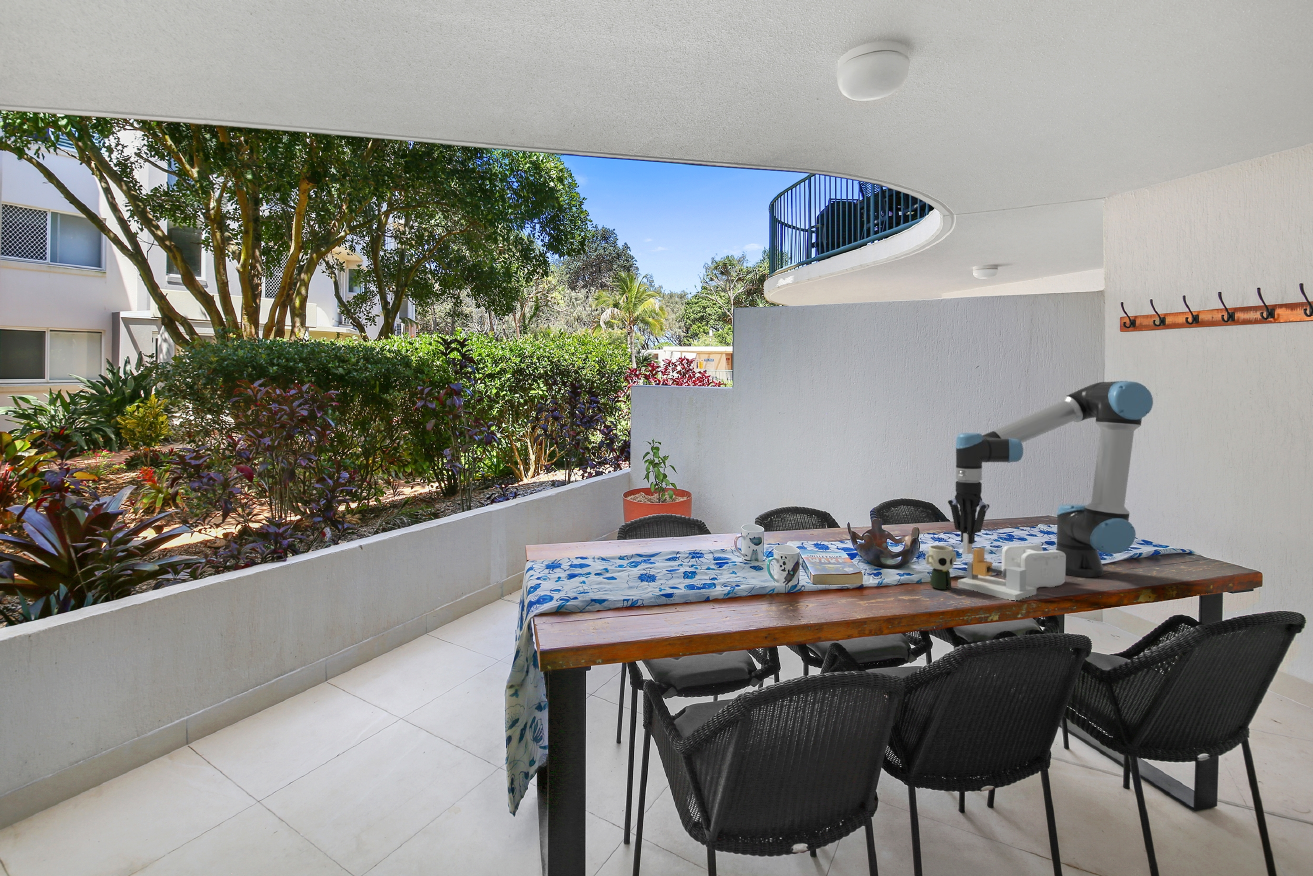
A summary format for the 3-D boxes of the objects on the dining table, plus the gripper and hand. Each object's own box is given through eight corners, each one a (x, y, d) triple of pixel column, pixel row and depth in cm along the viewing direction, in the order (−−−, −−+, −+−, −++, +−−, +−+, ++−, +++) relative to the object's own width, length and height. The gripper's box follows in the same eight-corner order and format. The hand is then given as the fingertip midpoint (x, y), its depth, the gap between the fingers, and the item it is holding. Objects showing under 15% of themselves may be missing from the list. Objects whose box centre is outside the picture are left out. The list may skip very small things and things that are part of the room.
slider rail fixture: (979, 580, 205) (979, 555, 205) (1036, 594, 190) (1037, 567, 189) (957, 586, 199) (958, 561, 198) (1015, 601, 184) (1015, 574, 183)
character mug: (933, 592, 193) (933, 551, 192) (918, 586, 200) (918, 546, 199) (963, 589, 195) (964, 549, 194) (947, 583, 202) (948, 543, 201)
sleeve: (979, 571, 201) (980, 547, 200) (992, 574, 197) (992, 549, 197) (972, 573, 199) (973, 549, 198) (984, 576, 195) (985, 551, 195)
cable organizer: (1040, 577, 207) (1041, 543, 206) (1066, 587, 196) (1067, 551, 196) (1000, 580, 204) (1001, 546, 203) (1025, 590, 194) (1026, 553, 193)
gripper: (942, 479, 204) (942, 550, 205) (981, 484, 193) (980, 559, 194) (956, 477, 208) (955, 547, 209) (995, 482, 197) (993, 555, 198)
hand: (967, 552), depth 202 cm, fingers closed
